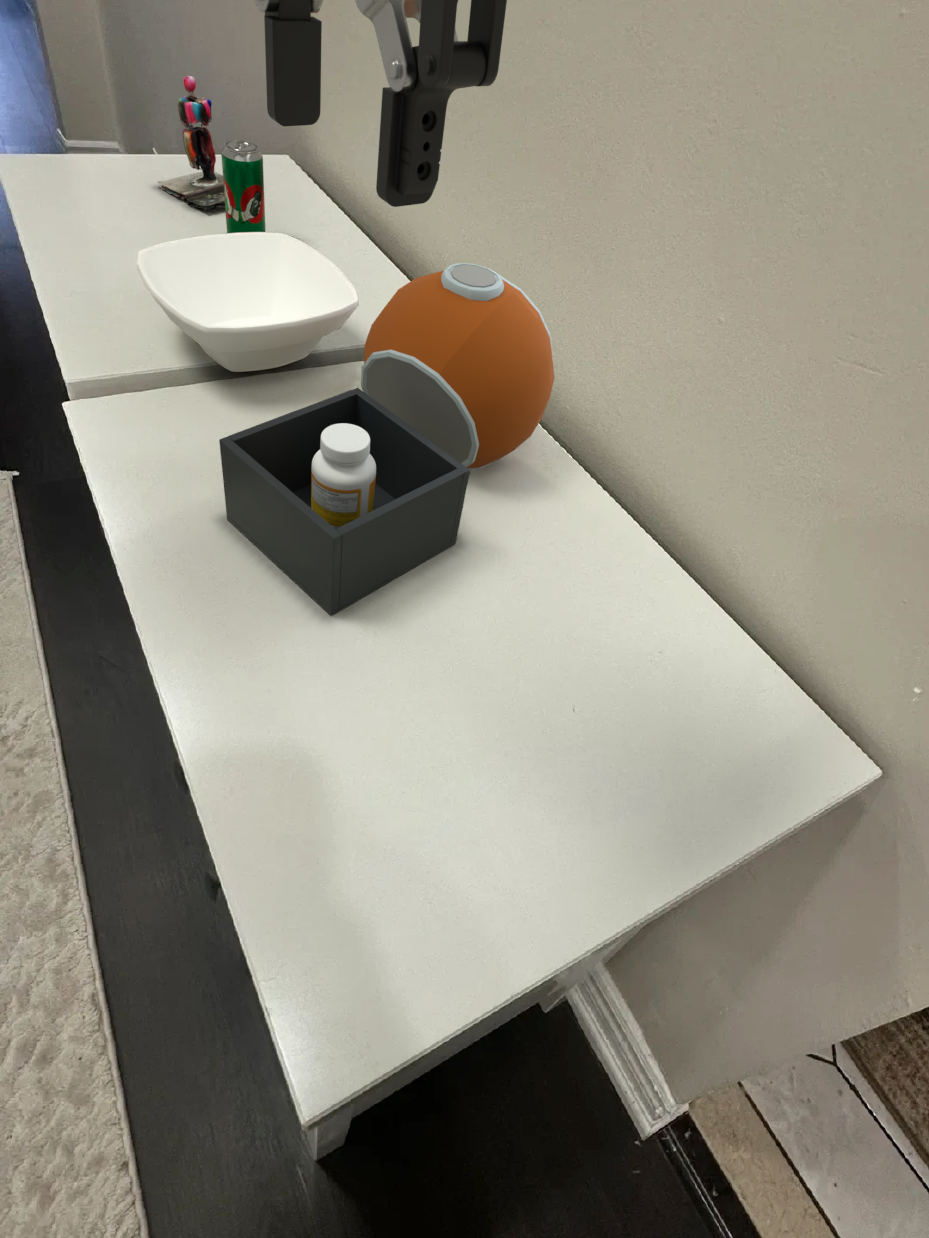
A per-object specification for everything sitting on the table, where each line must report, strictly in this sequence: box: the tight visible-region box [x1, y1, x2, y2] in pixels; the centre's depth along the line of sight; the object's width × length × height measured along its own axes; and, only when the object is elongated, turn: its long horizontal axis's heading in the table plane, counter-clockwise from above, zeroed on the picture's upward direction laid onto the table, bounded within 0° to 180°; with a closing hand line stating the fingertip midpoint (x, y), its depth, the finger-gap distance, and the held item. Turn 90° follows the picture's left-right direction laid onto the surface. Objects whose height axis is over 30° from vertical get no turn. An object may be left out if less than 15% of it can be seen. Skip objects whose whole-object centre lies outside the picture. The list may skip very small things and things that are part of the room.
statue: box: [157, 75, 225, 210], centre depth 108 cm, size 11×9×15 cm
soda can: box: [220, 139, 267, 234], centre depth 100 cm, size 5×5×12 cm
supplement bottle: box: [311, 423, 376, 529], centre depth 66 cm, size 5×5×10 cm
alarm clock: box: [360, 262, 555, 471], centre depth 76 cm, size 19×18×17 cm
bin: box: [218, 387, 471, 617], centre depth 66 cm, size 15×15×9 cm
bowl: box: [136, 231, 360, 373], centre depth 84 cm, size 21×21×9 cm
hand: (346, 160), depth 32 cm, fingers open, 8 cm apart
